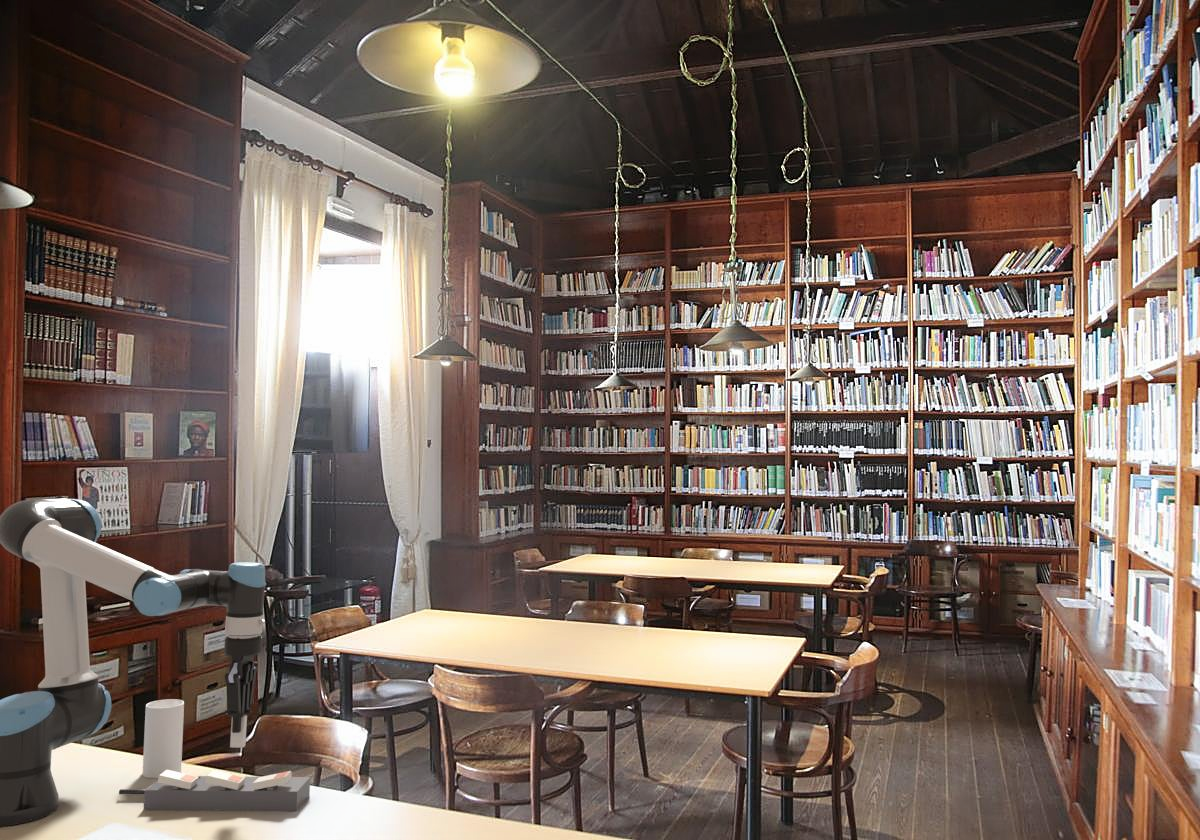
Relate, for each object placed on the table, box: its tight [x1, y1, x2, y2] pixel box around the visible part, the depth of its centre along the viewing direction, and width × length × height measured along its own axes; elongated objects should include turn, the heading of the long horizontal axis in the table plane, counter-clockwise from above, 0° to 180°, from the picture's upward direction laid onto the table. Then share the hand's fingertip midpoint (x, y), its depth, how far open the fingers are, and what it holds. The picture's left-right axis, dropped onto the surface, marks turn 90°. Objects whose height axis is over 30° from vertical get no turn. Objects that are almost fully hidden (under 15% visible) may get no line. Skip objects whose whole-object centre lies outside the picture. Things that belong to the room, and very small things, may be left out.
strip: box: [118, 775, 311, 812], centre depth 193 cm, size 40×9×4 cm, turn 91°
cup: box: [142, 698, 185, 779], centre depth 212 cm, size 8×8×16 cm
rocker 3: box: [253, 770, 293, 790], centre depth 191 cm, size 7×4×2 cm, turn 92°
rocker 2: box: [205, 769, 247, 790], centre depth 191 cm, size 7×4×2 cm, turn 91°
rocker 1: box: [157, 770, 199, 789], centre depth 191 cm, size 7×4×2 cm, turn 91°
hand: (237, 746), depth 192 cm, fingers closed
